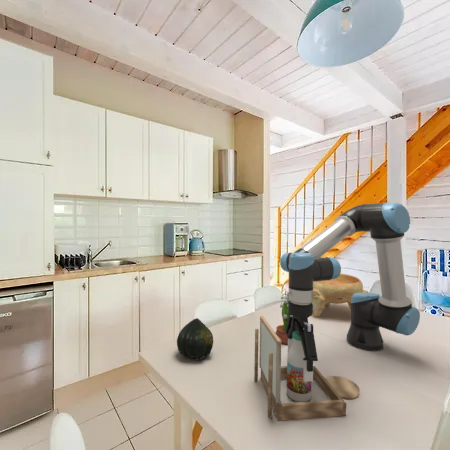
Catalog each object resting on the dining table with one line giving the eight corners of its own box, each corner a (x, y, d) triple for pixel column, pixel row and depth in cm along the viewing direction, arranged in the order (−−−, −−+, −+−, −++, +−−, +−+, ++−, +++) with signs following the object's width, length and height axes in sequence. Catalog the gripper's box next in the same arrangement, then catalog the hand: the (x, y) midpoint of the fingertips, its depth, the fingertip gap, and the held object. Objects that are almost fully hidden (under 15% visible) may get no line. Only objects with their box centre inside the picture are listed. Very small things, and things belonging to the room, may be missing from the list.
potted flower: (297, 348, 117) (298, 291, 117) (274, 346, 119) (275, 290, 119) (295, 337, 128) (296, 285, 128) (274, 335, 130) (275, 284, 130)
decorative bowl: (290, 306, 176) (291, 272, 176) (335, 303, 185) (336, 270, 185) (322, 326, 143) (323, 283, 143) (375, 320, 152) (375, 280, 152)
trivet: (347, 378, 95) (347, 375, 95) (367, 398, 84) (367, 395, 84) (317, 379, 93) (317, 376, 93) (334, 400, 82) (334, 397, 82)
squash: (188, 356, 97) (207, 318, 105) (164, 345, 108) (183, 311, 115) (209, 371, 105) (225, 334, 113) (185, 359, 115) (202, 326, 123)
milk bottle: (283, 388, 88) (284, 328, 88) (305, 387, 89) (306, 327, 89) (291, 403, 81) (292, 338, 80) (315, 402, 81) (316, 337, 81)
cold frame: (314, 375, 96) (314, 363, 96) (346, 415, 76) (346, 399, 76) (260, 378, 94) (260, 365, 94) (278, 420, 74) (278, 404, 74)
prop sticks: (257, 380, 93) (258, 328, 92) (272, 418, 74) (273, 354, 74) (253, 380, 92) (254, 328, 92) (268, 418, 74) (269, 354, 74)
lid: (262, 366, 94) (262, 316, 94) (280, 404, 74) (281, 341, 74) (259, 366, 93) (260, 316, 93) (276, 405, 74) (277, 341, 74)
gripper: (277, 291, 96) (276, 350, 97) (305, 315, 72) (303, 393, 72) (296, 291, 97) (295, 349, 97) (331, 314, 73) (330, 392, 73)
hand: (299, 368), depth 85 cm, fingers open, 12 cm apart
